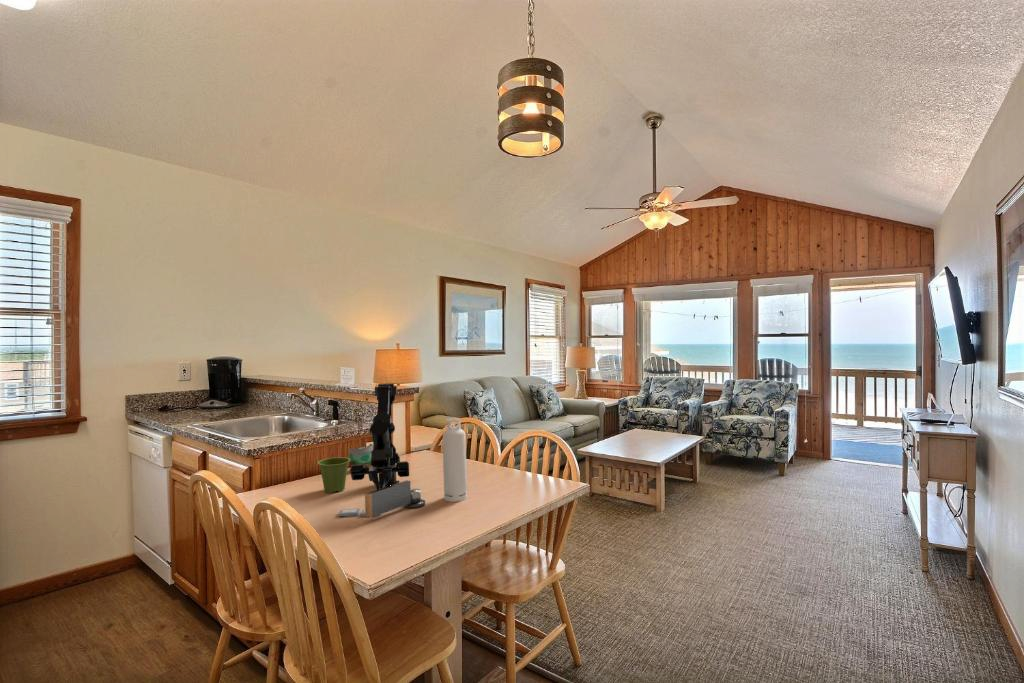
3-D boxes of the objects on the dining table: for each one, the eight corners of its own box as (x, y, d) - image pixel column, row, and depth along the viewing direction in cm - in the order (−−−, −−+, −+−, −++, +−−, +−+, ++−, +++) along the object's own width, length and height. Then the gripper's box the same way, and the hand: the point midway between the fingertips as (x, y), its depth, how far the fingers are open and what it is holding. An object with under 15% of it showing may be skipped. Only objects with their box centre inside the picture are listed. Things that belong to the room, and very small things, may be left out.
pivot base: (413, 500, 175) (413, 497, 175) (429, 503, 172) (429, 500, 172) (400, 506, 169) (400, 503, 169) (416, 509, 166) (416, 506, 166)
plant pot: (313, 495, 184) (312, 465, 184) (324, 486, 196) (324, 457, 196) (345, 494, 184) (344, 464, 184) (355, 485, 196) (354, 456, 196)
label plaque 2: (362, 512, 164) (362, 509, 164) (381, 511, 165) (381, 507, 165) (361, 516, 160) (360, 513, 160) (380, 515, 161) (380, 511, 161)
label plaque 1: (340, 513, 164) (340, 509, 164) (359, 511, 165) (359, 508, 165) (338, 517, 160) (338, 513, 160) (358, 515, 161) (357, 512, 161)
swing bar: (415, 498, 173) (414, 476, 173) (423, 500, 171) (422, 478, 171) (363, 517, 156) (362, 492, 156) (371, 519, 153) (370, 495, 153)
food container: (358, 473, 213) (357, 450, 213) (348, 471, 217) (348, 448, 217) (380, 467, 224) (379, 444, 224) (371, 465, 227) (370, 443, 227)
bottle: (444, 502, 172) (442, 421, 172) (443, 495, 180) (442, 418, 180) (467, 500, 174) (465, 420, 174) (466, 493, 182) (464, 417, 182)
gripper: (350, 440, 163) (346, 484, 153) (408, 437, 166) (408, 479, 156) (354, 458, 171) (350, 501, 160) (409, 455, 174) (409, 496, 164)
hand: (379, 494), depth 160 cm, fingers closed
